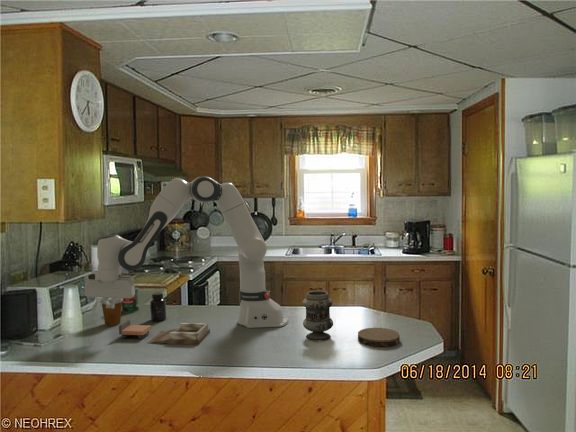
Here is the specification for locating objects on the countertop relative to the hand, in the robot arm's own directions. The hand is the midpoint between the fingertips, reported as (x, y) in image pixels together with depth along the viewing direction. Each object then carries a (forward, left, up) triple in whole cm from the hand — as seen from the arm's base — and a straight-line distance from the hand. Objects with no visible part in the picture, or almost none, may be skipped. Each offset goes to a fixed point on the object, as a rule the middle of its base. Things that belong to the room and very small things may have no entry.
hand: (110, 308), depth 199 cm
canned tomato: (+10, -38, -12) cm, 41 cm away
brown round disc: (-108, -3, -12) cm, 109 cm away
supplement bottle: (-10, -24, -12) cm, 29 cm away
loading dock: (-29, 0, -13) cm, 31 cm away
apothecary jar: (-84, -5, -12) cm, 85 cm away
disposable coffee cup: (+8, -16, -12) cm, 21 cm away
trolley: (-10, 0, -12) cm, 16 cm away
